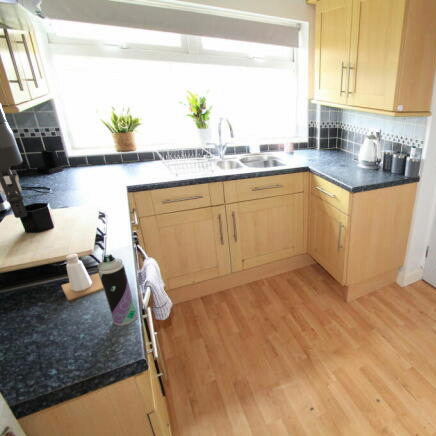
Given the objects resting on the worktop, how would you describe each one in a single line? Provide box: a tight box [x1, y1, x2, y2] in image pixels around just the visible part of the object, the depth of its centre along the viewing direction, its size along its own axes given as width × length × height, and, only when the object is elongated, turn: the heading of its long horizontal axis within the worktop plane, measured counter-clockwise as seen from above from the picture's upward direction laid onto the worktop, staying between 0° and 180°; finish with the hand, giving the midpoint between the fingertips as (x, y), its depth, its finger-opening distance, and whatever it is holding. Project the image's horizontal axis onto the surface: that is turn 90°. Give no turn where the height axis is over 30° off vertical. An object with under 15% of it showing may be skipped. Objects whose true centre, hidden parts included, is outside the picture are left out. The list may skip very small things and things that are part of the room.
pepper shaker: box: [65, 253, 92, 291], centre depth 96 cm, size 5×5×11 cm
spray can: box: [97, 253, 138, 327], centre depth 83 cm, size 6×6×20 cm
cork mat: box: [60, 272, 104, 302], centre depth 98 cm, size 12×10×1 cm
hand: (19, 211), depth 77 cm, fingers open, 8 cm apart
